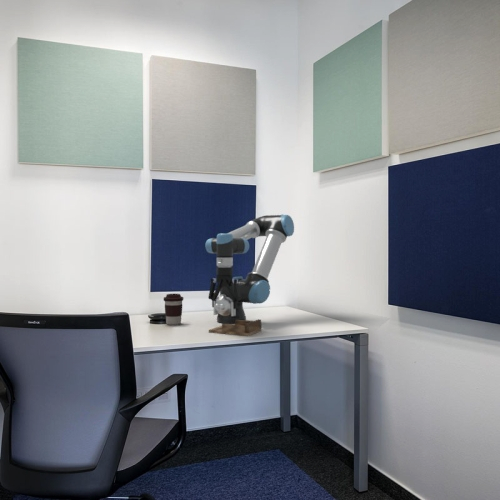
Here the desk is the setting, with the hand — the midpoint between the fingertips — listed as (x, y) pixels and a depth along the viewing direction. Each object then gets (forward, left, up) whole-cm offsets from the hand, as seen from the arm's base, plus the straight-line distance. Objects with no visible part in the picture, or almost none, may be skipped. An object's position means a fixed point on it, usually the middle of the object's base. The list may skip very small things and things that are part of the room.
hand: (224, 315), depth 220 cm
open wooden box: (+6, 0, -7) cm, 9 cm away
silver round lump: (0, 0, 0) cm, 0 cm away
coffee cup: (-32, +5, -8) cm, 34 cm away
